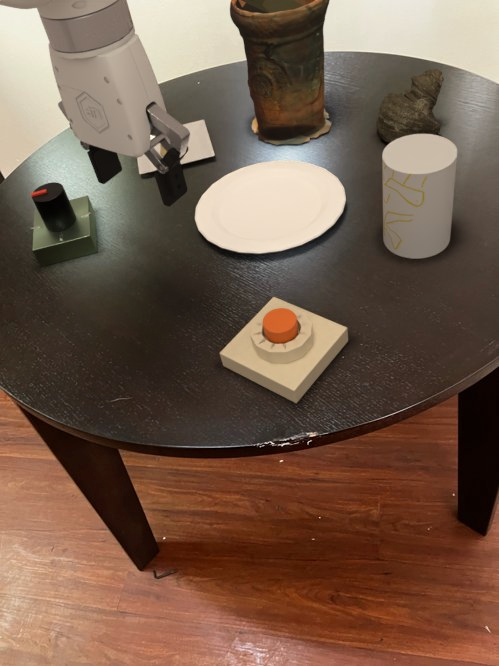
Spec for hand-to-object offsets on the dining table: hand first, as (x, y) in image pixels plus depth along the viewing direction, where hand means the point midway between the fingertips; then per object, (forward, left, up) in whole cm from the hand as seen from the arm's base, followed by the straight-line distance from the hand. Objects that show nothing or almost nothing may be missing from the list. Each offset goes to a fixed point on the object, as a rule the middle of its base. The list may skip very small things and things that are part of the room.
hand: (142, 187), depth 69 cm
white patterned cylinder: (+23, -20, -16) cm, 35 cm away
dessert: (+25, +24, -16) cm, 38 cm away
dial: (+1, +23, -13) cm, 26 cm away
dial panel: (+1, +23, -16) cm, 28 cm away
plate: (+19, 0, -16) cm, 25 cm away
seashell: (+43, -6, -16) cm, 47 cm away
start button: (-1, -17, -13) cm, 21 cm away
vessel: (+40, +11, -16) cm, 45 cm away
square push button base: (-1, -17, -16) cm, 24 cm away
